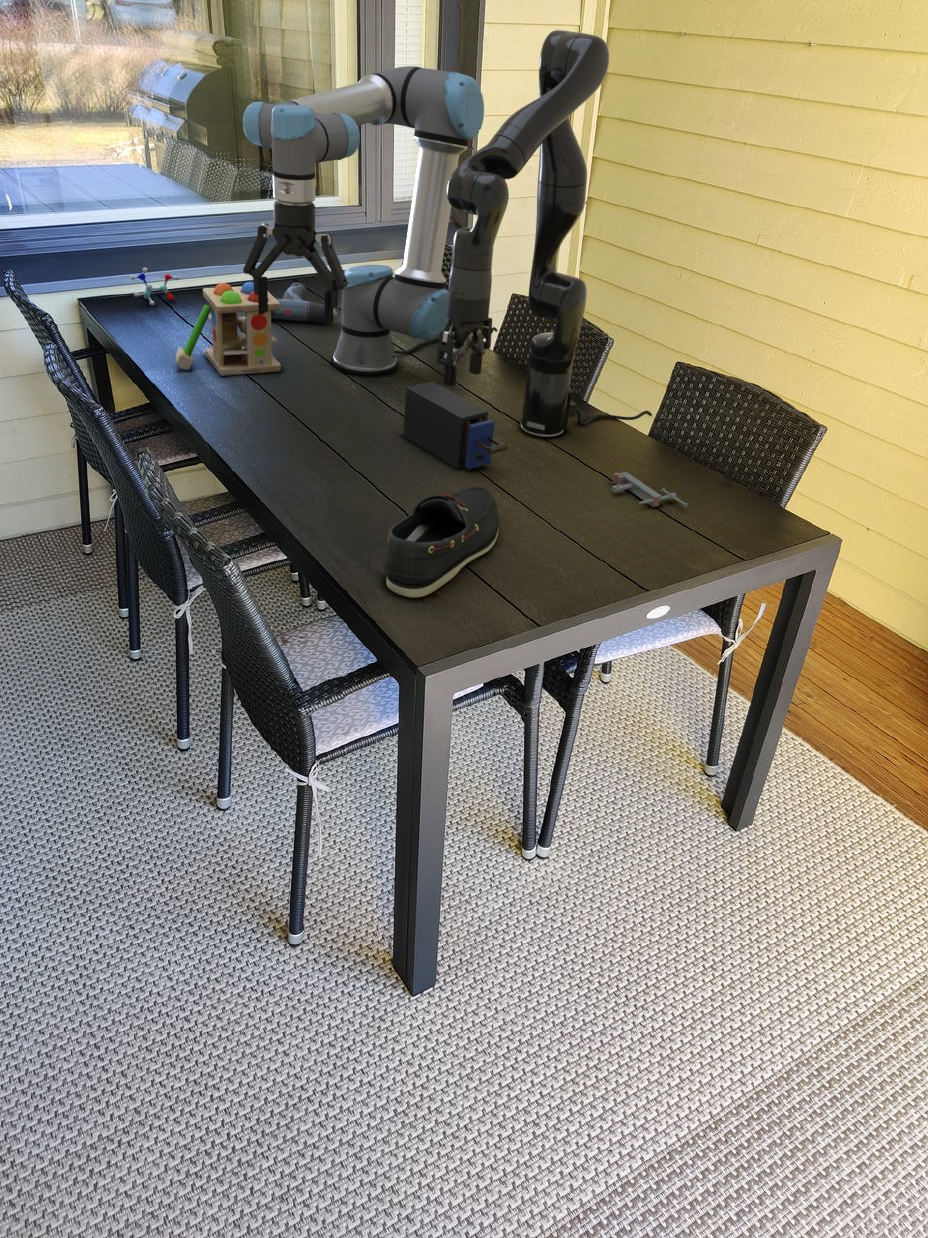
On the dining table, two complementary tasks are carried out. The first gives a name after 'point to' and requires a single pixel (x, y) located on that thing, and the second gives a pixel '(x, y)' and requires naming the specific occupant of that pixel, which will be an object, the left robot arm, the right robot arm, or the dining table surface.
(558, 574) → the dining table surface
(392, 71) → the left robot arm
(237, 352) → the pounding bench toy
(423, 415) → the cabinet
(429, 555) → the boat shoe
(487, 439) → the drawer
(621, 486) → the clamp
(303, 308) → the power drill
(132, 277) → the molecular model
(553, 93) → the right robot arm
